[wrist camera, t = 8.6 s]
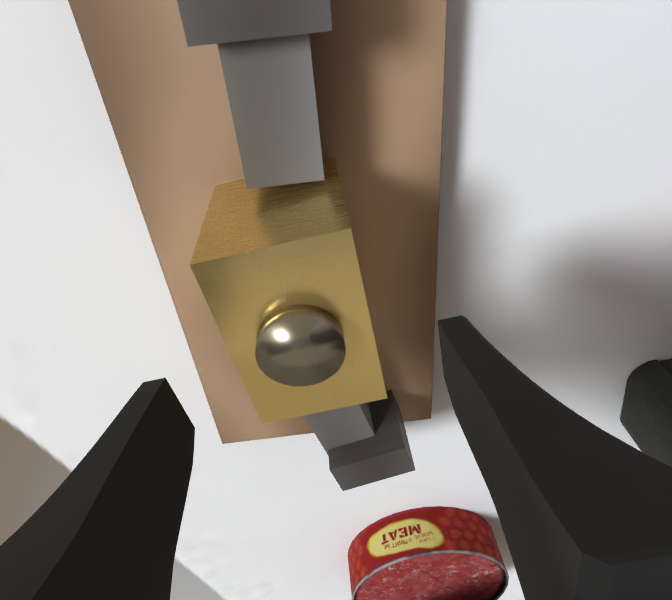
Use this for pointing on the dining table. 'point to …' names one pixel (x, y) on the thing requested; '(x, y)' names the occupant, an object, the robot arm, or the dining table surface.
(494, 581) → the canned food
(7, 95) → the dining table surface
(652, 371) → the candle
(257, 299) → the block
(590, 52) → the dining table surface
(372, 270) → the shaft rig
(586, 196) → the dining table surface
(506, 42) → the dining table surface
